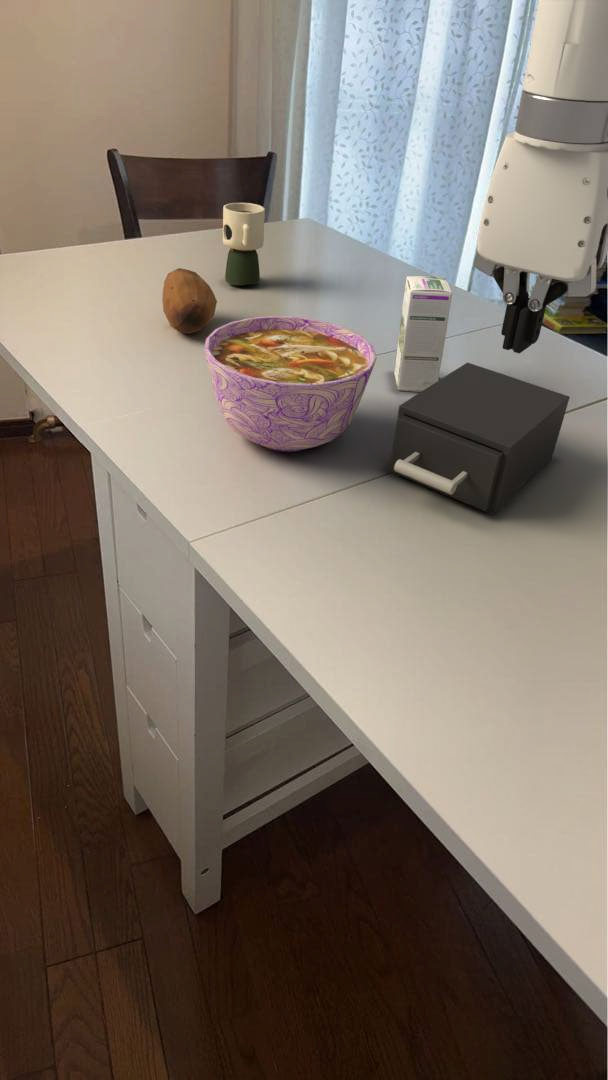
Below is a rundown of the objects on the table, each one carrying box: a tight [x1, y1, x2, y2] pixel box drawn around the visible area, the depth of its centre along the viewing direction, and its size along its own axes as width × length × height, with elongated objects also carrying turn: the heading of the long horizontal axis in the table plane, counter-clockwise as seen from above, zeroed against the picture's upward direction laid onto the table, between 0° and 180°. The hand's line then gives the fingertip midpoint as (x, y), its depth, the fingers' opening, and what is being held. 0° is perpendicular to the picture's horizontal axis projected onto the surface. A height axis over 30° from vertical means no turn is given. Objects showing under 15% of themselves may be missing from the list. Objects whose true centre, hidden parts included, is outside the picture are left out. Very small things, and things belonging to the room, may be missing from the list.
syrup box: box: [393, 275, 453, 393], centre depth 110 cm, size 6×6×14 cm
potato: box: [162, 268, 218, 335], centre depth 123 cm, size 8×13×8 cm
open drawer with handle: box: [388, 415, 503, 512], centre depth 92 cm, size 20×12×7 cm, turn 143°
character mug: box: [222, 202, 266, 287], centre depth 140 cm, size 11×7×13 cm, turn 9°
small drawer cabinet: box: [388, 362, 571, 516], centre depth 94 cm, size 17×14×9 cm
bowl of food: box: [204, 315, 378, 453], centre depth 96 cm, size 20×20×12 cm
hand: (517, 346), depth 72 cm, fingers closed
